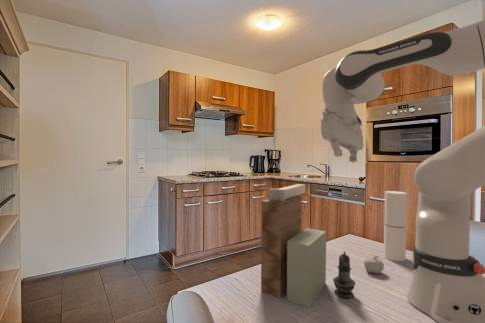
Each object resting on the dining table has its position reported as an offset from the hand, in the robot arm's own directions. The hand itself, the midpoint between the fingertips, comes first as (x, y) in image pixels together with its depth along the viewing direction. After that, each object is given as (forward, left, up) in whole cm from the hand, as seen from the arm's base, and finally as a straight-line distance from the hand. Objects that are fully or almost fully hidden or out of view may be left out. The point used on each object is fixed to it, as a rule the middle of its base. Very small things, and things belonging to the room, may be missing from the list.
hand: (346, 159), depth 78 cm
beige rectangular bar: (+16, +5, -12) cm, 20 cm away
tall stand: (+16, +11, -38) cm, 42 cm away
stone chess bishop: (-1, +6, -38) cm, 39 cm away
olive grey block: (+8, +11, -38) cm, 40 cm away
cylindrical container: (-11, -32, -38) cm, 51 cm away
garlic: (-6, -14, -38) cm, 41 cm away
